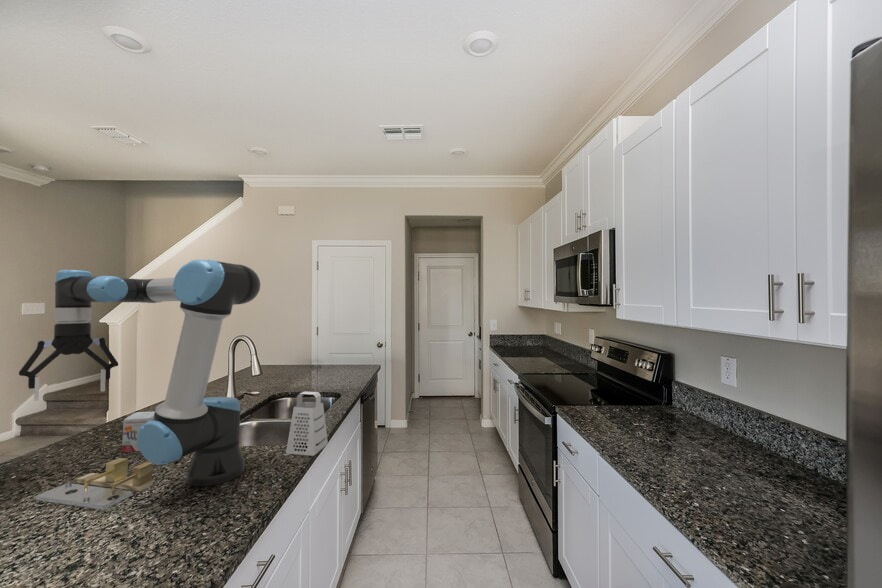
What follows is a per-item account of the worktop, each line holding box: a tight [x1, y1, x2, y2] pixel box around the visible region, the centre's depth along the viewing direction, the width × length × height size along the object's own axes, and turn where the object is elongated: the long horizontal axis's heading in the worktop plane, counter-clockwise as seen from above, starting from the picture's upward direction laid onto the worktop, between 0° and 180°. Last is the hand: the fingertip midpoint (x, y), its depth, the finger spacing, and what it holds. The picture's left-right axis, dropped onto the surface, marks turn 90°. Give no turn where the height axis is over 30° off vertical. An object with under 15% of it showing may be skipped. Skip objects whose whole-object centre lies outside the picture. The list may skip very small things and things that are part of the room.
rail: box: [76, 461, 154, 495], centre depth 100 cm, size 22×10×6 cm, turn 79°
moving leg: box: [83, 457, 129, 491], centre depth 100 cm, size 3×10×5 cm, turn 169°
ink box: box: [121, 410, 155, 454], centre depth 129 cm, size 9×9×12 cm
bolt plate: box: [35, 482, 133, 511], centre depth 96 cm, size 22×7×1 cm, turn 79°
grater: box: [285, 391, 329, 457], centre depth 130 cm, size 10×10×20 cm
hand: (71, 395), depth 105 cm, fingers open, 13 cm apart
